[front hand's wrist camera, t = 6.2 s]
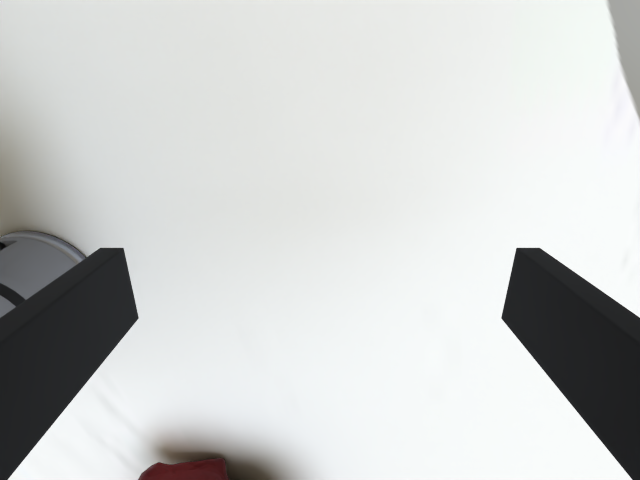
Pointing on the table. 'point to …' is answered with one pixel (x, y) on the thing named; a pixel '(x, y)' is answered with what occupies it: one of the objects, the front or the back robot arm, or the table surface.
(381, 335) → the table surface
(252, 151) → the table surface
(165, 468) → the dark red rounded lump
